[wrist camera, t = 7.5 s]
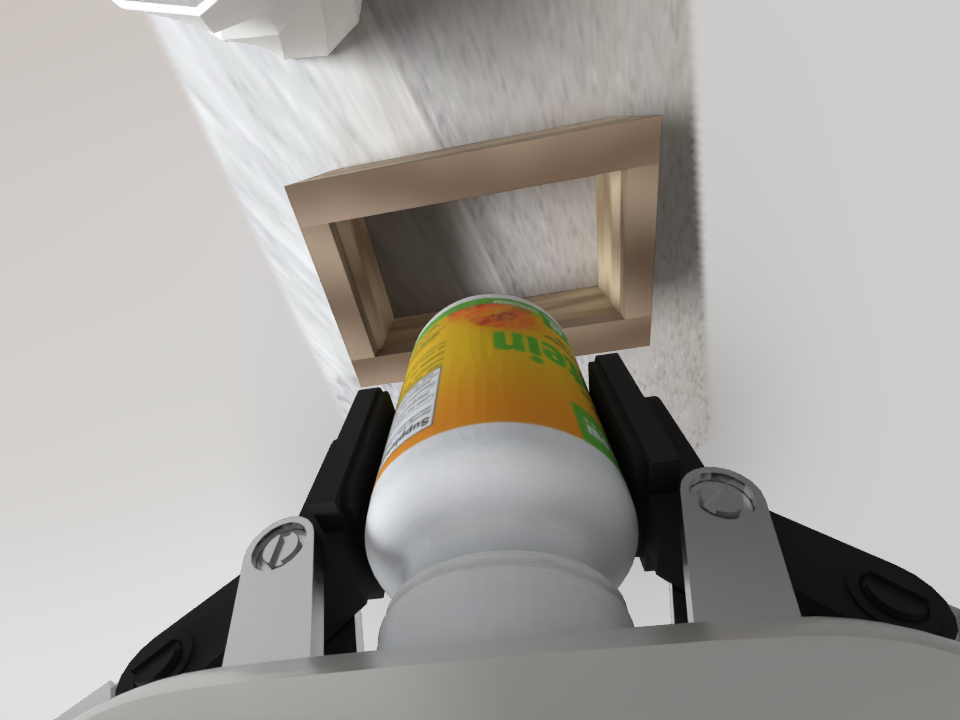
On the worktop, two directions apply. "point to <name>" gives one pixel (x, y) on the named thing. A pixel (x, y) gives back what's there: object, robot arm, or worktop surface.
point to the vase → (264, 21)
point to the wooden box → (481, 171)
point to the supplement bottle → (498, 487)
